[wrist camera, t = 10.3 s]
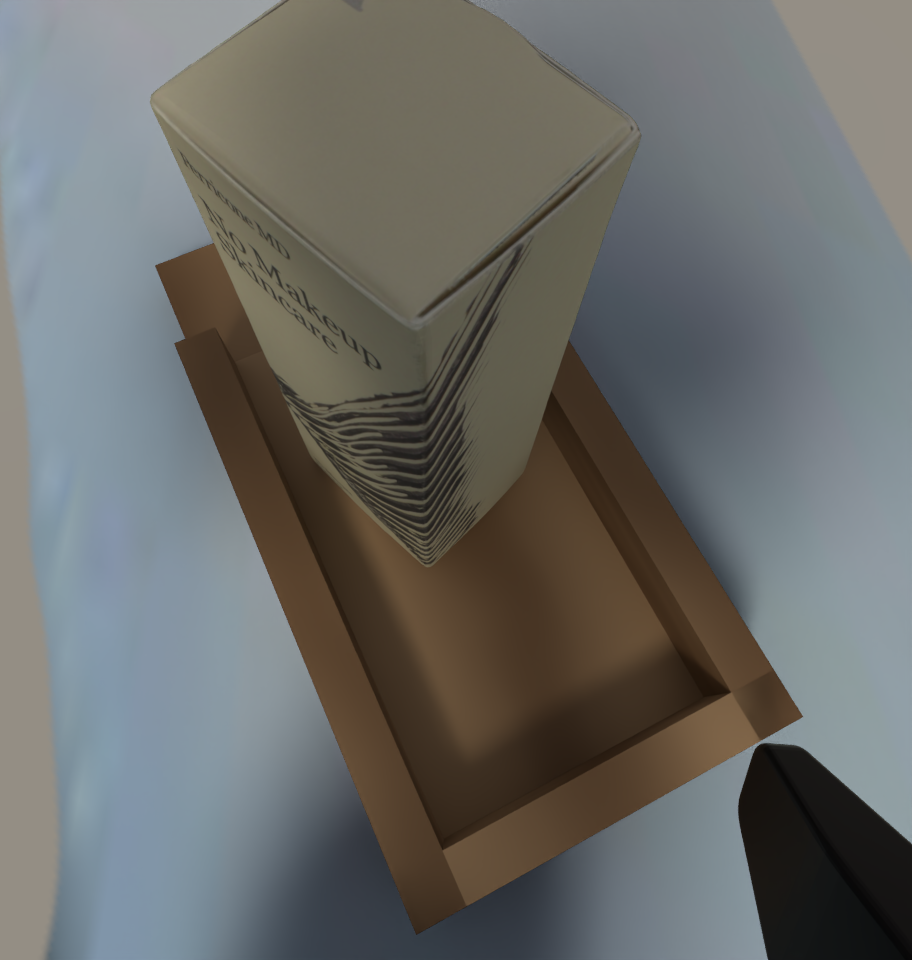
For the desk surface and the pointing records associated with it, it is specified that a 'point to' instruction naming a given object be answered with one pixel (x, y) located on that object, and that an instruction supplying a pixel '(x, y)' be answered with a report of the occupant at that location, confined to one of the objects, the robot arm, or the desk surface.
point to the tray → (487, 627)
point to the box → (403, 236)
